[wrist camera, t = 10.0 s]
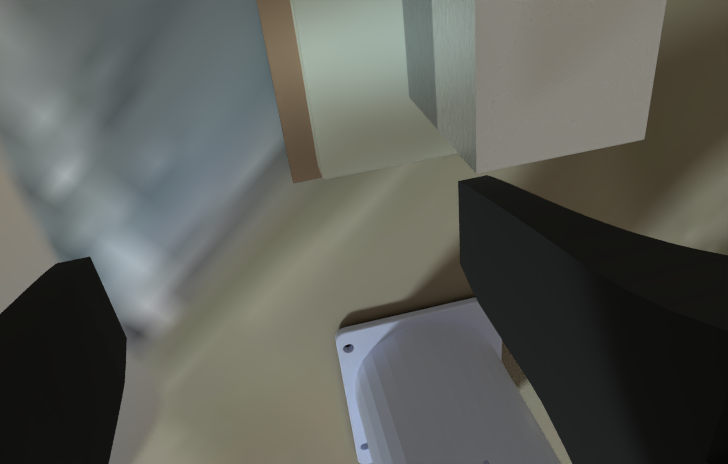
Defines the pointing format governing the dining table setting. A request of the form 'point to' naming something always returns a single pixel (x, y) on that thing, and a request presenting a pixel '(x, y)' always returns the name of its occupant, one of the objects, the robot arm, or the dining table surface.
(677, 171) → the dining table surface
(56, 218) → the dining table surface
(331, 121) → the stand
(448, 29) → the housing
